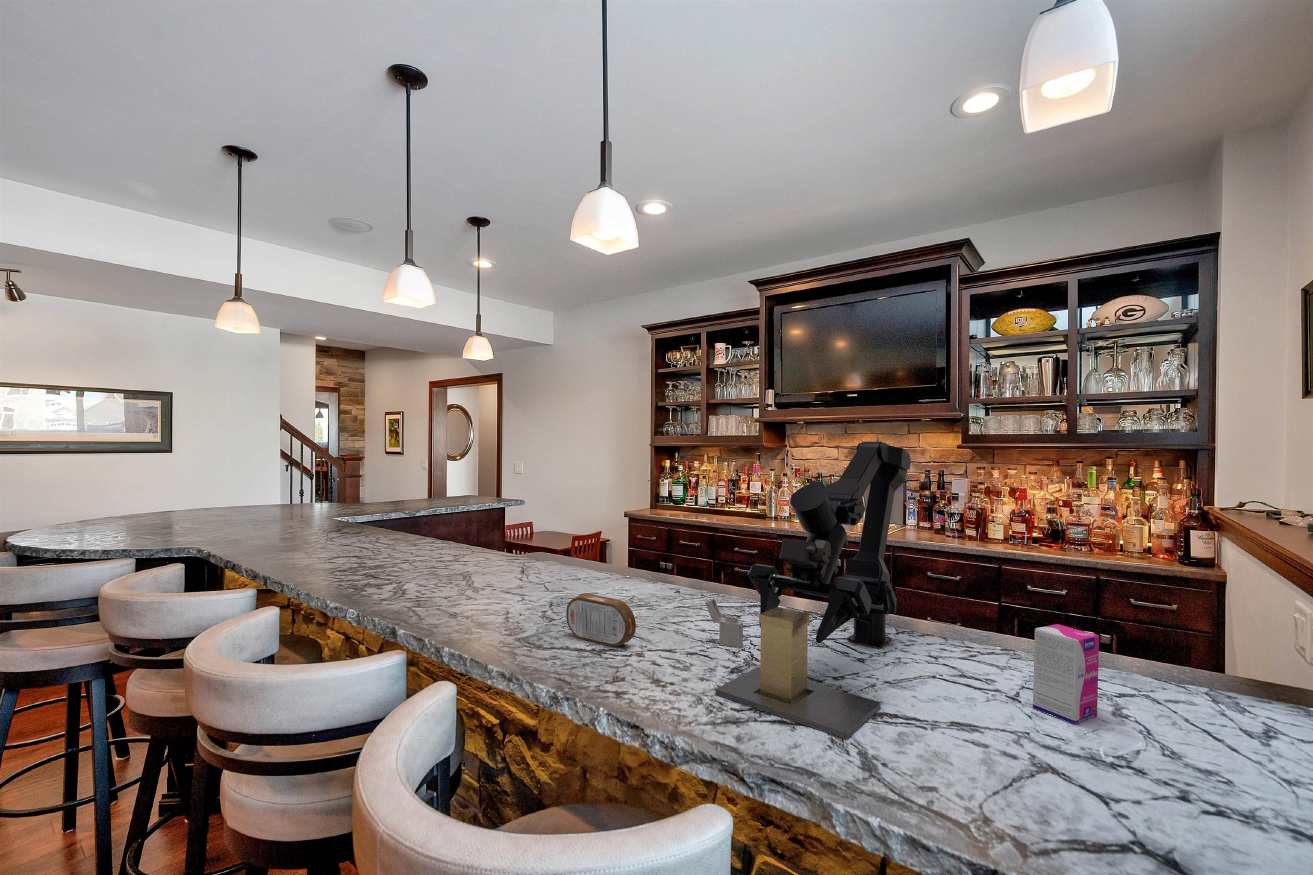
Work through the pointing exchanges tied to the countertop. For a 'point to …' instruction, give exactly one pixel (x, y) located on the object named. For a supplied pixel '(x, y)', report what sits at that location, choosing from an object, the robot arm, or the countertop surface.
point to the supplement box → (1066, 673)
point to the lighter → (726, 626)
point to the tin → (601, 619)
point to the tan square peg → (784, 655)
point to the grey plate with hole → (806, 705)
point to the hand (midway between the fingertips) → (788, 634)
